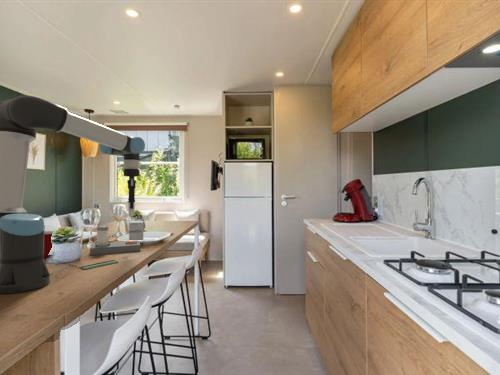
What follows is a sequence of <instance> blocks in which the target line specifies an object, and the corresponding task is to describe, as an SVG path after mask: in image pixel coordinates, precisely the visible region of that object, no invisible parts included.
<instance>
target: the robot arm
mask: <svg viewBox="0 0 500 375" xmlns="http://www.w3.org/2000/svg"><path fill="white" fill-rule="evenodd" d="M37 130H47V131H51V132H53V133H60V132H64V133H66V134H69V135H73V136H75V137H78V138H81V139H84V140H87V141H91V142H94V143H96V144H99V150H100V152H101V153H102V154H104V155H108V156H119V157H120V156H121V157H123V176H124V177H128V179H127V181H126V183H127V188H128V200H127V203H128V216H135V207H136V205H135V202H136V199H135V194H136V192H135V189H136V183H137V180H135V177H140V176H141V175H140V171H141V170H140V167H141V166H140V165H141V164H142V163H141V162H140V160H141V159H140V156H141V153H143V152H144V151H145V149H146V148H145V147H146V142H145V141H144V139H143V138H142V137H140V136H130V135H128V134H125V133H122V132H120V131H118V130H115V129H112V128H110V127H107V126H105V125H102V124H99V123H98V122H94V121H92V120H89V119H87V118H84V117H81V116H79V115H77V114H74V113H72V112H69V111H68V109H67V107H64V106H63V105H60V104H57V103H54V102H52V101H49V100H46V99H45V98H41V97H37V96H33V95H19V96H16V97H14V98H10V99H5V100H3V101H1V102H0V294H3V295H4V294H15V293H16V294H17V293H18V294H19V293H22V292H29V291H33V290H37V289H40V288H42V287H45V286H47V285H49V284H50V283H51V274H50V271H49V269H48V267H47V264H46V261H45V259H44V231H45V228H46V227H45V220H44V218H43V216H41V215H40V214H33V213H28V212H27V210H26V209H25V208H24V207H23V204H24V196H25V190H26V189H25V188H26V180H27V179H26V178H27V171H28V170H27V169H28V162H29V154H30V146H31V145H30V144H31V143H33V142H34V141H35V140H36V138H37V137H36V136H37Z"/></svg>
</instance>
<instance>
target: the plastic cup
mask: <svg viewBox="0 0 500 375" xmlns="http://www.w3.org/2000/svg"><path fill="white" fill-rule="evenodd" d="M54 231H55V230H53V231H51V230H50V231H49V230H47V231H46V230H44V260H45V259H48V258H47V257H48V254H49V252H50V250H51V248H52V243H51V236H52V233H53V232H54Z"/></svg>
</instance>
